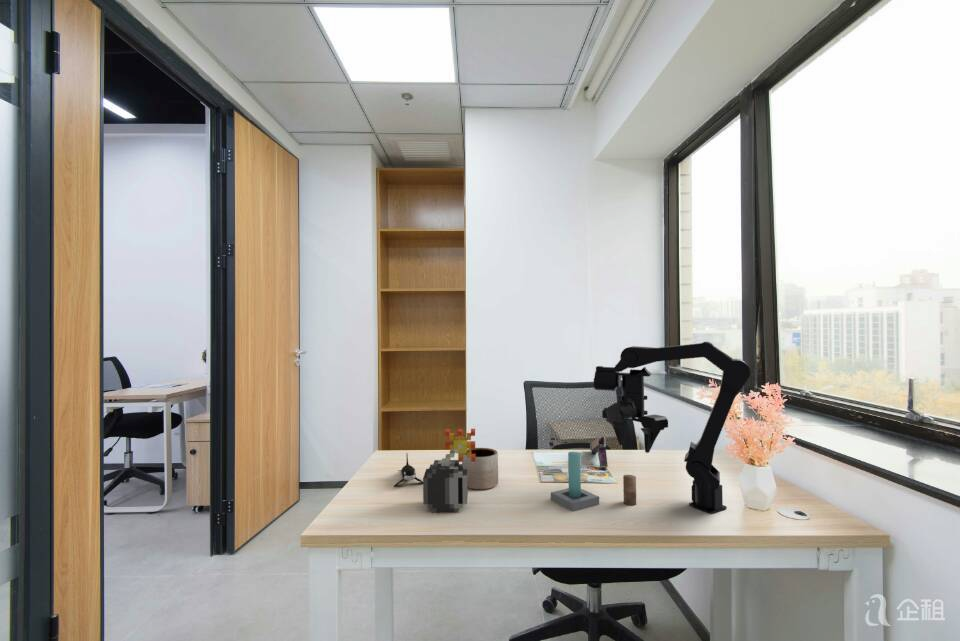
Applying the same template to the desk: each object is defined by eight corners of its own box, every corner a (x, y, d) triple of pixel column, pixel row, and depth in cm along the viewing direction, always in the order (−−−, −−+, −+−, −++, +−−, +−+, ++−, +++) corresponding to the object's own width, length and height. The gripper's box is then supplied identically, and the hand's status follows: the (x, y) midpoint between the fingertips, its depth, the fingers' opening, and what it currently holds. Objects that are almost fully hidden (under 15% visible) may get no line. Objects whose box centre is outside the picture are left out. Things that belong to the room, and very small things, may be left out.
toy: (428, 485, 133) (426, 450, 135) (393, 489, 130) (392, 452, 133) (419, 480, 153) (418, 449, 155) (389, 483, 150) (388, 451, 153)
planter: (489, 493, 130) (489, 459, 130) (455, 487, 134) (455, 455, 134) (503, 481, 140) (503, 449, 140) (471, 476, 144) (471, 446, 144)
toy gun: (598, 471, 168) (596, 443, 171) (608, 466, 148) (606, 435, 152) (591, 471, 168) (589, 442, 171) (601, 466, 148) (598, 435, 152)
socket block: (599, 504, 121) (599, 496, 121) (572, 511, 116) (572, 503, 116) (576, 493, 128) (576, 486, 128) (550, 499, 124) (550, 492, 124)
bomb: (426, 501, 124) (425, 427, 124) (475, 500, 124) (475, 426, 124) (423, 513, 116) (422, 434, 116) (475, 512, 116) (475, 433, 116)
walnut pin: (639, 504, 120) (638, 477, 121) (630, 506, 119) (629, 479, 119) (629, 500, 123) (629, 474, 123) (621, 502, 122) (620, 476, 122)
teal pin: (583, 501, 122) (582, 453, 122) (576, 505, 120) (576, 455, 120) (573, 498, 125) (572, 450, 125) (566, 502, 122) (565, 453, 122)
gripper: (587, 390, 131) (588, 445, 131) (639, 399, 114) (639, 461, 114) (616, 387, 136) (616, 440, 136) (669, 395, 120) (670, 455, 120)
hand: (633, 448), depth 126 cm, fingers open, 9 cm apart
